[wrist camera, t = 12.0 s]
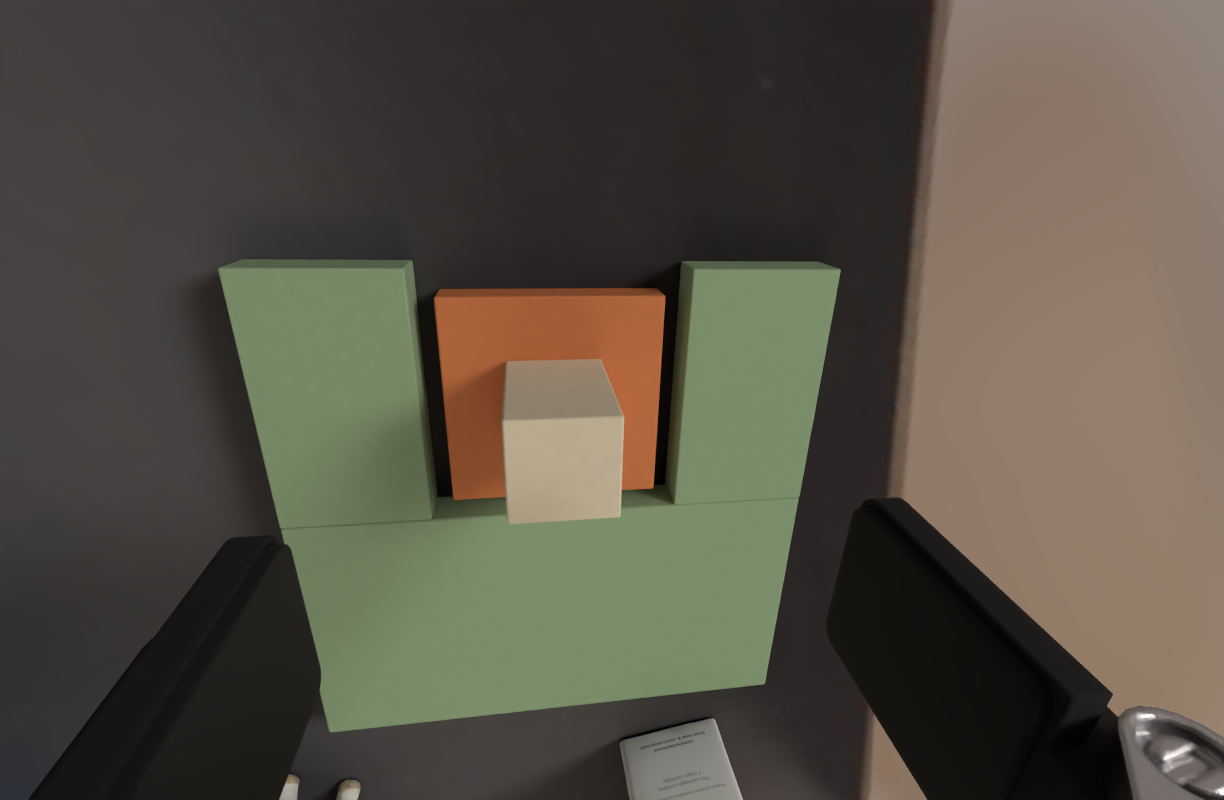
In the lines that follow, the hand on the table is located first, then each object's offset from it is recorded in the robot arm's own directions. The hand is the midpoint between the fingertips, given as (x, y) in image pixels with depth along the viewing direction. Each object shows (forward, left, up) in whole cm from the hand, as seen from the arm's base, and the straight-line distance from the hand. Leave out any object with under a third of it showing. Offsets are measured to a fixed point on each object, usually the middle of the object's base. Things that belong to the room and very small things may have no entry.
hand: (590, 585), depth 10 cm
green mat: (0, +5, -11) cm, 12 cm away
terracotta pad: (0, +1, -11) cm, 11 cm away
